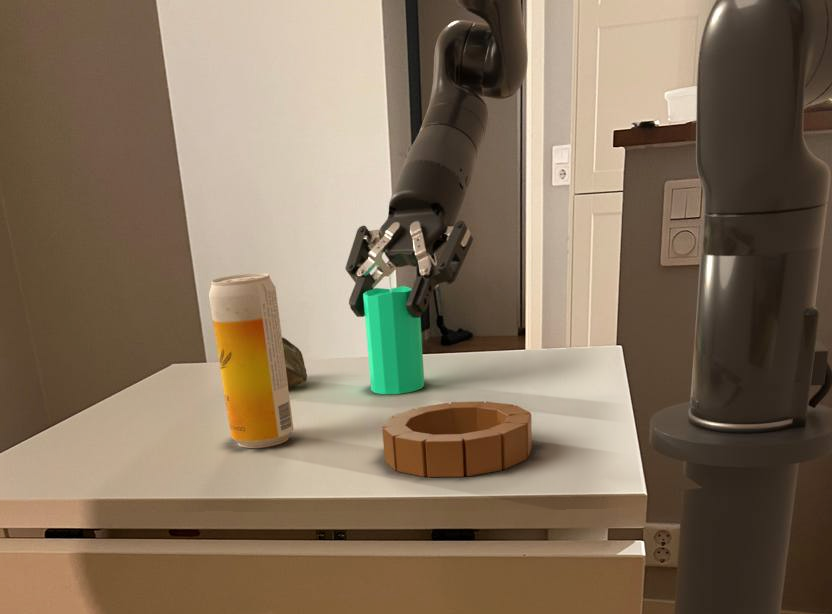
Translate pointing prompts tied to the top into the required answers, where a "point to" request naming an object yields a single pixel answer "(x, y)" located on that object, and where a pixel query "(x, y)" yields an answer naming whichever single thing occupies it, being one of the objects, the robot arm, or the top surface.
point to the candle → (393, 341)
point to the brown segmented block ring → (457, 439)
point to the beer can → (251, 359)
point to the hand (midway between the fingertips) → (384, 312)
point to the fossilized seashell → (293, 364)
